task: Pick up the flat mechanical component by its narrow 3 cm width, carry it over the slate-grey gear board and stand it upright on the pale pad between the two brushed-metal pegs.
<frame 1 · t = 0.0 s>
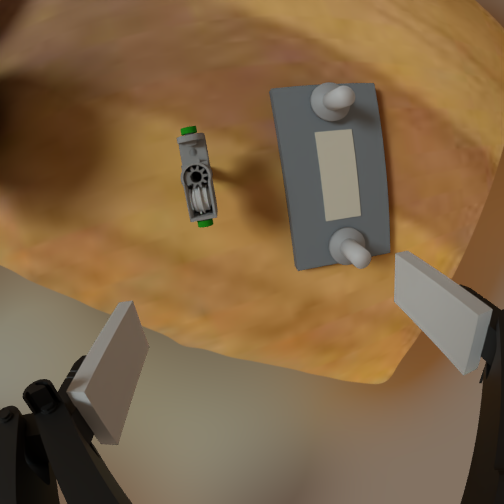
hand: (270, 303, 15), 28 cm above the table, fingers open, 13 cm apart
mechanical component: (203, 171, 40), on the table
gear board: (334, 173, 41), on the table
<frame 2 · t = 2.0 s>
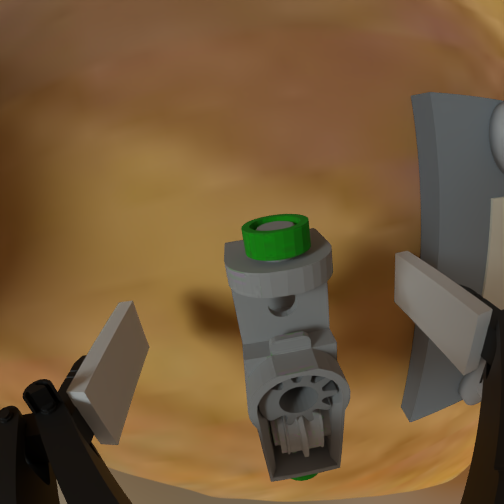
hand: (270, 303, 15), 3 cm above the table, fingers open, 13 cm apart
mechanical component: (263, 272, 18), on the table
gear board: (488, 265, 19), on the table
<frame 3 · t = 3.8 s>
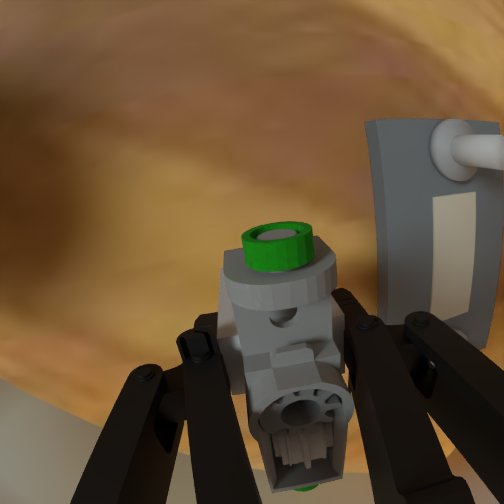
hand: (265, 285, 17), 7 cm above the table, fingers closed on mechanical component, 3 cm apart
mechanical component: (264, 278, 17), point 7 cm above the table, touching gripper
gear board: (441, 253, 25), on the table
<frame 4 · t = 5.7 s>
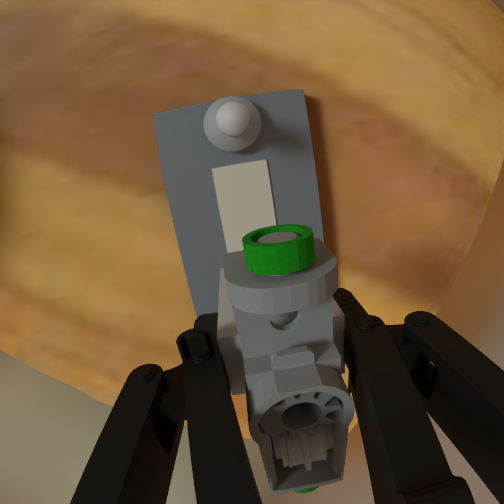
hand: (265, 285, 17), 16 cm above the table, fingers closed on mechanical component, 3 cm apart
mechanical component: (264, 279, 17), point 15 cm above the table, touching gripper
gear board: (248, 220, 32), on the table
when the fingers open (3 cm above the table, at t = 8.1 s): mechanical component stays where it is, resting on gear board.
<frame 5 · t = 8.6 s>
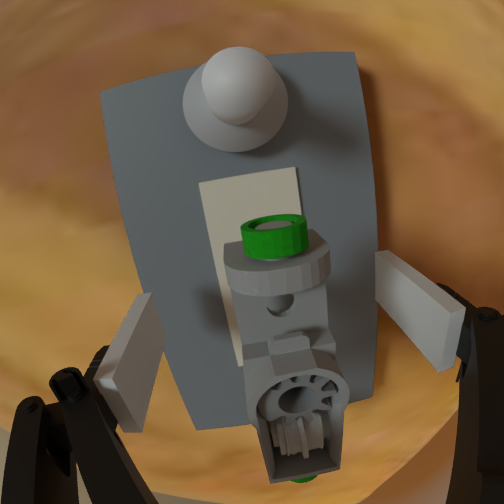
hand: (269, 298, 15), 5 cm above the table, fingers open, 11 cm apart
mechanical component: (262, 275, 18), point 2 cm above the table, touching gear board
gear board: (260, 265, 20), on the table
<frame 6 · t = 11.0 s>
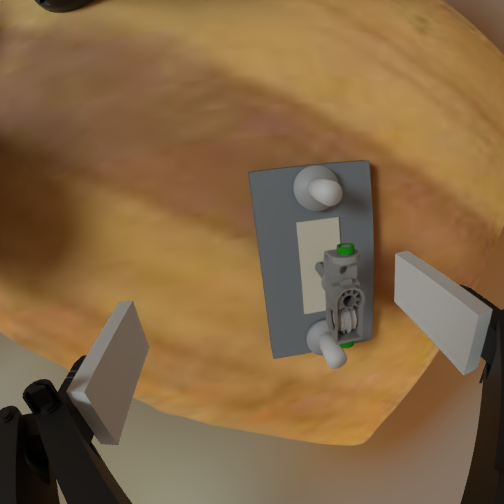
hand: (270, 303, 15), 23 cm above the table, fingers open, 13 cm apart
mechanical component: (320, 266, 37), point 2 cm above the table, touching gear board
gear board: (316, 262, 39), on the table
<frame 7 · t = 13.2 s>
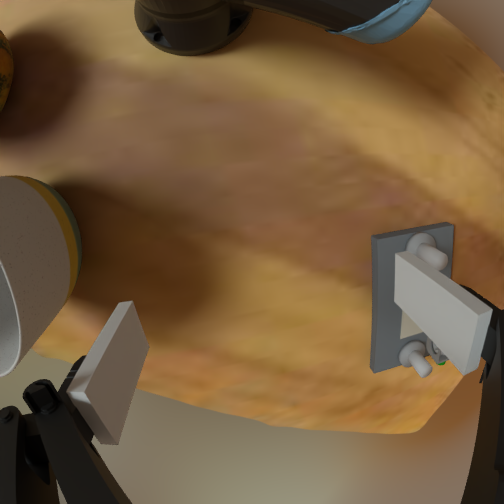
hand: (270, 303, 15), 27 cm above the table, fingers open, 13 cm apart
planter: (47, 233, 39), on the table
mechanical component: (415, 304, 45), point 2 cm above the table, touching gear board
gear board: (409, 299, 47), on the table
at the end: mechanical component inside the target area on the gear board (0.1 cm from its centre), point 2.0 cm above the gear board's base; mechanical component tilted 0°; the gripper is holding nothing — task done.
